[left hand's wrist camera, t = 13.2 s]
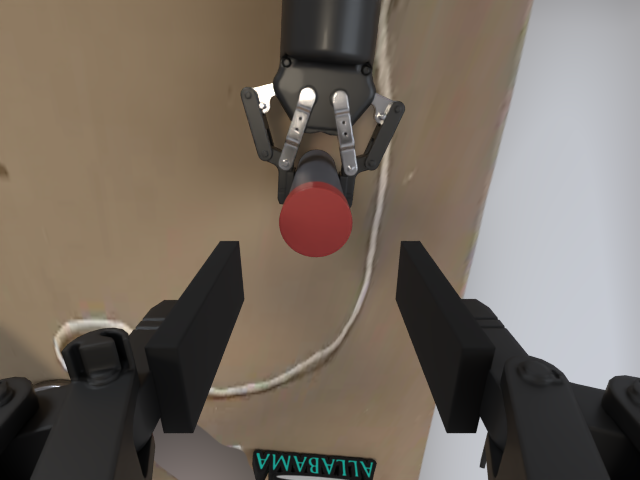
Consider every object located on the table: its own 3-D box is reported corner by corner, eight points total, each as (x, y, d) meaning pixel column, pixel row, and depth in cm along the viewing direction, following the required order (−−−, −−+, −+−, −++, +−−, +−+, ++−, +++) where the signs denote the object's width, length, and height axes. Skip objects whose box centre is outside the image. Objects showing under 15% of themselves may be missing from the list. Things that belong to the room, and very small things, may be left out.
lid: (345, 248, 23) (347, 259, 21) (280, 243, 23) (277, 254, 21) (353, 184, 22) (356, 191, 20) (283, 178, 21) (280, 184, 20)
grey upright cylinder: (333, 188, 38) (345, 255, 22) (296, 185, 38) (280, 249, 22) (337, 151, 37) (353, 191, 20) (299, 147, 37) (283, 185, 20)
